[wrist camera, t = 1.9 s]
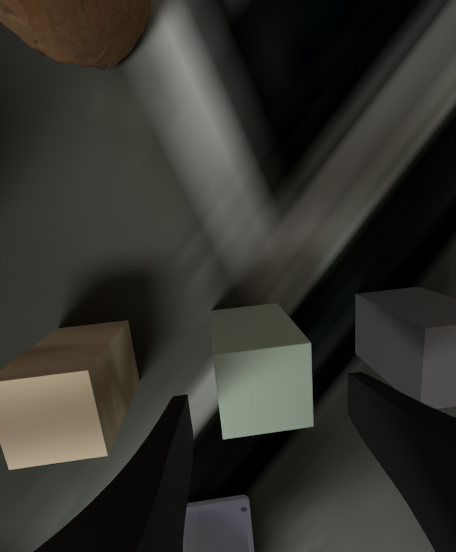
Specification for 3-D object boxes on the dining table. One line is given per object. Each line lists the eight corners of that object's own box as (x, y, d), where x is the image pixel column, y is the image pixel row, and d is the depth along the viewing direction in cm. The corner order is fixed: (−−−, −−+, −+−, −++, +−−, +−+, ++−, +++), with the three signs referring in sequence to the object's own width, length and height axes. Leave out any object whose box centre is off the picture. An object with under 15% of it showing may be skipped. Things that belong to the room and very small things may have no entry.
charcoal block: (414, 345, 19) (503, 399, 14) (354, 353, 19) (419, 411, 13) (417, 286, 18) (515, 317, 13) (355, 293, 18) (425, 328, 12)
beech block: (139, 380, 18) (107, 455, 12) (73, 389, 18) (8, 470, 12) (128, 320, 17) (87, 370, 12) (58, 328, 17) (-20, 384, 11)
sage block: (280, 362, 19) (313, 426, 13) (218, 370, 19) (222, 439, 13) (277, 302, 18) (310, 342, 12) (211, 310, 18) (213, 355, 12)
